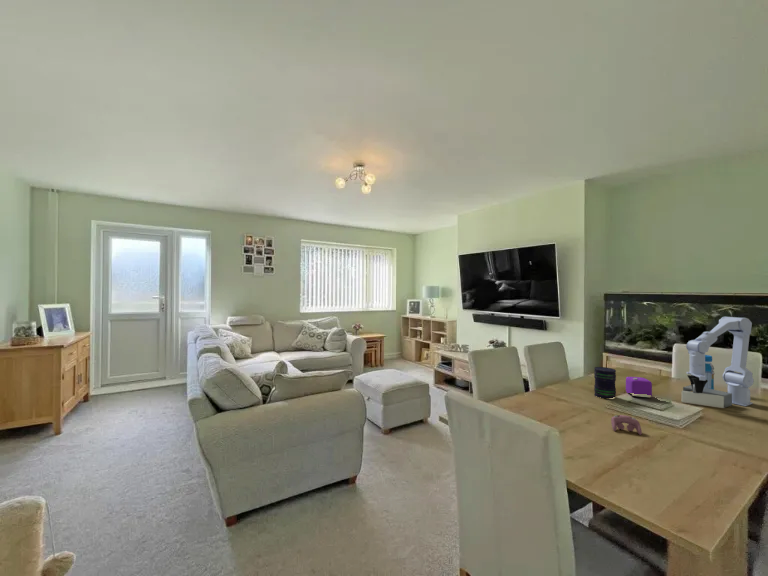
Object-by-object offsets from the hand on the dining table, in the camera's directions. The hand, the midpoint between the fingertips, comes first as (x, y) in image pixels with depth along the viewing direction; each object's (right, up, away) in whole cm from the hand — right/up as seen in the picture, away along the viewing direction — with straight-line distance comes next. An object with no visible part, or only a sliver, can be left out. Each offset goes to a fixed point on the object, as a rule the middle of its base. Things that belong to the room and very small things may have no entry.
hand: (697, 391), depth 165 cm
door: (+2, -6, -1) cm, 7 cm away
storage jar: (-38, -7, +13) cm, 41 cm away
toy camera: (-18, -7, +16) cm, 25 cm away
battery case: (+10, -7, +5) cm, 13 cm away
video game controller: (-59, -7, -31) cm, 67 cm away
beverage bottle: (+28, -7, +26) cm, 39 cm away
